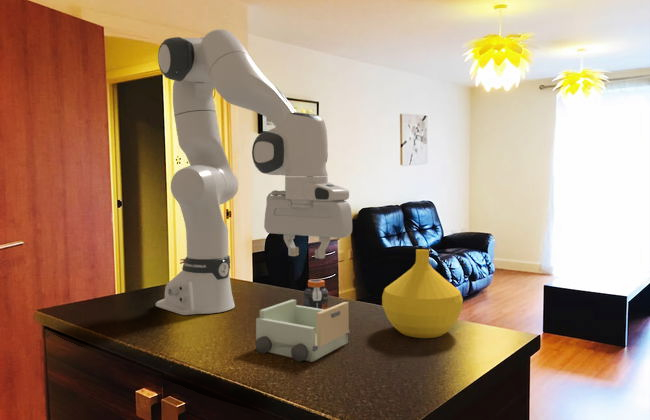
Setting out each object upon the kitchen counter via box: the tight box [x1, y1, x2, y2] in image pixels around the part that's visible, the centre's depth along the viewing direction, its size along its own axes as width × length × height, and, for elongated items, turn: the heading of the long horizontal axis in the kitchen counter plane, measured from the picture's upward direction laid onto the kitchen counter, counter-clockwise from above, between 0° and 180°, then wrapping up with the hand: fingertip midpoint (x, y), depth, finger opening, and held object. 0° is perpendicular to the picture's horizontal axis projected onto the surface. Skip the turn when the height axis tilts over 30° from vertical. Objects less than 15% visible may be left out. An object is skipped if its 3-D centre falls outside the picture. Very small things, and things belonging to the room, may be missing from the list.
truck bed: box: [255, 298, 351, 363], centre depth 111 cm, size 15×17×8 cm
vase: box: [381, 248, 464, 339], centre depth 121 cm, size 18×18×19 cm
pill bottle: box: [303, 278, 330, 309], centre depth 126 cm, size 6×6×11 cm
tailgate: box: [316, 301, 350, 347], centre depth 107 cm, size 1×11×6 cm, turn 148°
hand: (306, 256), depth 110 cm, fingers open, 5 cm apart
